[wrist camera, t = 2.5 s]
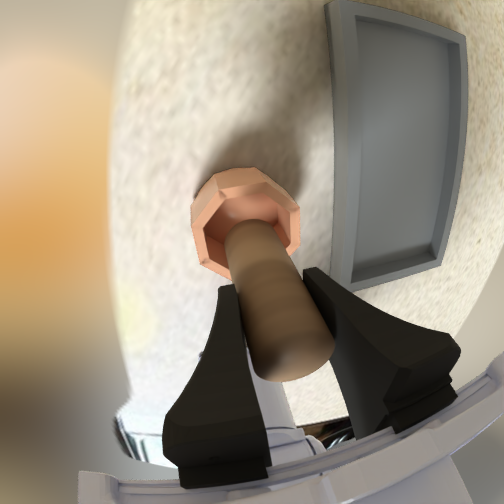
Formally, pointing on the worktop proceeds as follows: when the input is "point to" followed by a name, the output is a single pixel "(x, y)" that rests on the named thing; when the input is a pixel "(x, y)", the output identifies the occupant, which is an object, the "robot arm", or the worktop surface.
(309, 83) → the worktop surface
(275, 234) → the pin
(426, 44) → the tray
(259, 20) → the worktop surface
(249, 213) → the cup
